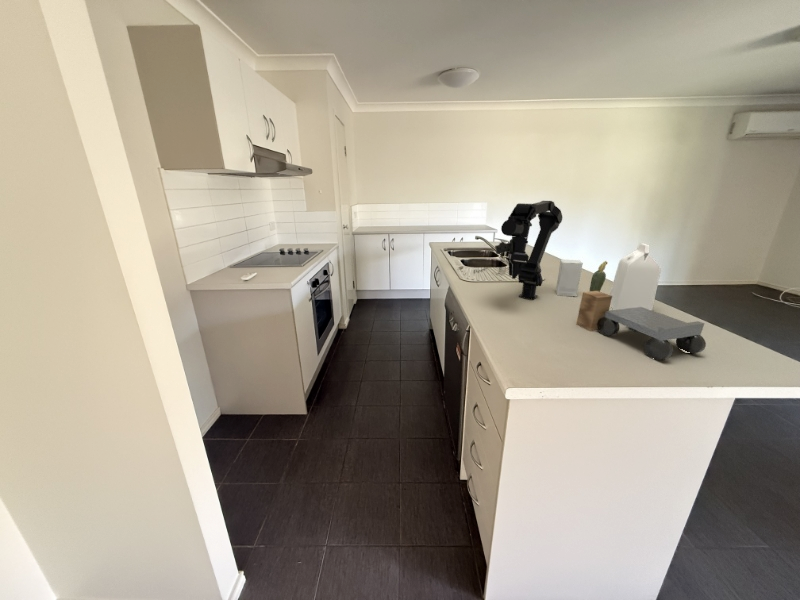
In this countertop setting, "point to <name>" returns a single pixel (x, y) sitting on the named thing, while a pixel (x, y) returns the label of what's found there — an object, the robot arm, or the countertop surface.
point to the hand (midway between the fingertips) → (511, 277)
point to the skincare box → (568, 277)
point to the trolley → (655, 330)
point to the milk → (635, 280)
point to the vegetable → (598, 278)
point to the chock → (593, 309)
